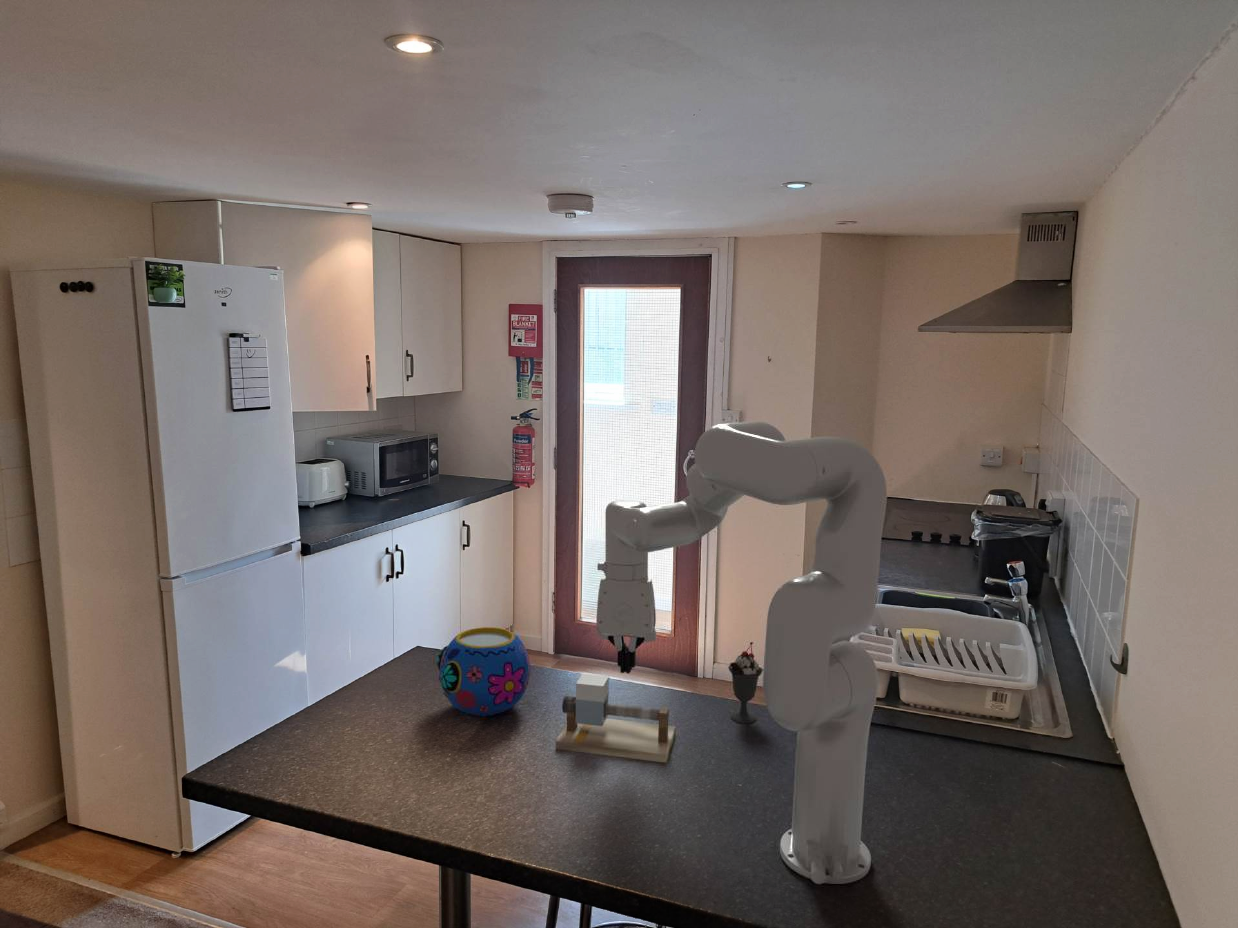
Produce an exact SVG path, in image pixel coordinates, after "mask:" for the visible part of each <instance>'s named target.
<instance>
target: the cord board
mask: <svg viewBox="0 0 1238 928" xmlns="http://www.w3.org/2000/svg"><path fill="white" fill-rule="evenodd" d="M561 705H562V706H561V709H562V713H563V714H566V724H565V725H564V727H563V728H562V730H561V732H560V734H559V735H558V736H557V739H556V740H555V749H556V750H562V751H570V752H578V753H579V752H580V753H586V754H593V755H604V756H610V757H618V758H625V759H626V758H627V759H634V760H642V761H648V762H649V761H651V762H658V763H666V764H667V762H668V759H669V755H670V751H671V749H672V746H673V743H674V740H675V739H674V738H675V736H676V725H669V710H670V709H669V707H666V706H665V707H664V706H660V708H654V707H653V708H652V707H645V706H644V707H643V706H635V705H627V704H626V705H625V704H618V703H617V704H615V703H609V702H608V703H604V714H605V715H608V716H614V717H622V718H623V717H624V718H630V719H631V718H633V719H638V720H639V719H640V720H649V721H658V724H657V723H648V722H641V721H640V722H639V721H631V720H622V719H615V718H608V717H607V718H606V720H605V722H604V724H603V726H595V725H587V724H578V723H576V696H572V695H571V696H569V695H565V696H564V697H563V700H562V704H561Z"/></svg>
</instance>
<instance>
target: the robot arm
mask: <svg viewBox="0 0 1238 928" xmlns="http://www.w3.org/2000/svg"><path fill="white" fill-rule="evenodd" d="M685 483H686V488H687V490H688V493H689V495H688V496H686V497H685V498H684V499H682V500H680V501H678V502H670V503H664V504H659V505H653V506H647V504H646V503H644V502H642V501H639V500H632V499H623V500H615V501H612V502H609V503H608V504H607V506H606V507H605V521H604V522H605V524H604V525H605V529H604V530H605V533H604V534H605V553H604V554H605V561H602V562H598V563H597V570H598V571H601V572H603V573H604V575H603V576H602V577H601V578H600V581H599V582H600V583H599V588H598V595H597V603H596V604H597V606H596V622H595V623H596V624H595V625H596V630H597V631H596V636H597V637H598V638H600V639H604V640H608V641H609V642H610V644H612V646H614V647H615V648H614V649H615V651H617V667H620V673H621V674H624V673H626V674H631V672H632V670H633V668H635V667H636V663H637V662H636V657H637V656H636V650H637V649H638V648H639V647H640V646H641V645H643V644H644V643H649V642H654V641H656V639H657V632H656V628H655V627H656V624H657V623H656V621H657V620H656V619H657V618H656V617H657V616H656V615H657V613H656V603H655V602H656V600H655V591H654V585H653V580H652V577H651V576H649V575H648V574H649V573H648V572H649V553H652V552H653V553H654V552H658V551H663V550H666V549H667V550H668V549H672V548H676V547H681V546H683V547H684V546H687V545H690V544H692V543H694V542H697V541H698V540H700V539H701V538H703V537H704V536H705V535H708V534H709V533H710V532H711V531H713V530H714V529H715V528H716V527H718V526H719V525H720V524H722V522H723V521H724V519H725V516H726V515H727V512H728V509H729V507H730V506H731V505H733V504H735V503H736V502H737V501H738V500H740V499H741V498H742V497H743V496H747V497H750V498H753V499H756V500H759V501H762V502H766V503H770V504H773V505H777V506H793V505H794V506H795V505H800V504H804V503H810V502H817V501H821V500H826V502H827V505H826V508H825V512H824V513H823V515H822V517H821V520H820V522H819V524H818V528H817V530H816V535H815V542H814V544H815V545H814V555H813V563H812V568H811V570H810V572H809V573H808V574H805V575H801V576H799V577H795V578H792V579H790V580H788V581H786V582H785V583H783V584H782V585H781V586H780V587H779V588H778V589H777V590H776V591H775V593H774V594H773V596H772V598H771V602H770V603H769V607H768V611H767V618H766V629H765V640H764V642H765V643H764V657H763V667H762V669H763V672H762V692H763V693H762V694H763V699H764V703H765V706H766V709H767V710H768V712H769V714H770V716H771V718H773V720H774V721H775V722H776V723H777V724H778V725H779V726H781V727H782V728H784V729H785V730H788V731H793V732H797V736H796V737H797V738H796V749H795V763H794V785H793V802H792V820H791V821H792V822H791V829H788V830H786V832H784V833H783V835H782V836H781V838H780V841H779V854H780V857H781V859H782V860H783V862H784V863H785V864H786V865H787V866H788V867H789V868H790V869H791V870H792V871H794V872H796V873H797V874H799V875H800V876H803V877H804V878H807V879H810V880H811V881H812V882H813V883H815V884H816V885H817V884H818V885H821V884H831V885H832V884H833V885H845V884H850V883H854V882H857V881H858V880H861V879H863V878H864V877H865V876H866V875H868V873H869V872H870V869H871V865H872V855H871V852H870V850H869V849H868V847H867V846H866V844H865V843H864V842H863V841H862V839H861V837H862V822H863V811H864V809H863V808H864V794H865V779H866V766H867V756H868V755H867V754H868V746H869V745H868V742H869V735H870V727H871V721H872V717H873V713H874V711H875V710H874V709H875V707H876V706H875V705H876V701H877V696H878V692H879V673H878V669H877V665H876V663H875V661H874V659H873V657H872V656H871V654H870V653H869V652H868V650H866V649H865V648H864V647H862V646H861V645H860V644H857V643H856V642H853V641H849V640H848V639H850V638H851V639H852V638H853V637H855V636H858V635H860V634H862V633H863V632H865V631H866V630H867V629H868V628H869V627H870V626H871V624H872V622H873V621H874V617H875V614H876V613H875V612H876V608H877V607H876V605H877V597H878V596H877V595H878V583H879V573H880V563H881V547H882V546H881V545H882V537H883V536H882V535H883V529H884V523H885V516H886V509H887V499H888V496H887V495H888V493H887V490H888V489H887V483H886V478H885V474H884V471H883V470H882V467H881V465H880V463H879V462H878V460H877V459H876V457H875V456H874V455H873V454H872V453H871V452H870V451H869V449H867V448H866V447H865V446H863V445H862V444H860V443H858V442H857V441H854V440H853V439H849V438H845V437H838V436H820V437H819V436H817V437H809V438H801V439H790V440H786V438H785V436H784V434H783V433H782V432H781V431H780V430H779V429H778V428H777V427H775V426H774V425H771V424H770V423H766V422H762V421H746V422H729V423H728V422H727V423H719V424H716V425H713V426H711V427H710V428H708V429H706V430H705V431H704V432H703V433H702V435H700V437H699V438H698V441H697V442H696V445H695V448H694V464H692V465H691V466H690V468H689V469H688V471H687V473H686V478H685ZM625 637H627V638H628V637H629V641H628V645H627V644H626V642H625Z"/></svg>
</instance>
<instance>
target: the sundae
mask: <svg viewBox="0 0 1238 928" xmlns="http://www.w3.org/2000/svg"><path fill="white" fill-rule="evenodd" d="M753 644H754V641H751V642H749V647H748V648H747V649H746V650H743V651H742V652H741V654H740V655H738V656H737V657H736V658H735V661H734V662H730V663H729V666H727V668H728V671H729V672H730V674H731V677H732V688H733V693H734V696H735V698H736V699H737V700H739V702H740V709H739V711H735V712H733V713H732V714H731V715H730V719H731V720H732V721H733V722H735V723H738V724H741V725H742V724H743V725H744V724H745V725H747V724H753V723H755V721H756V720H757V717H756V715H754V714H753V713H751V712H748V710H747V709H748V708H747V706H748V705H747V704H748V702H750V701H752V700H753V698H754V697H755V695H756V691H757V688H758V687H757V685H758V682H759V681H758V680H759V677H760V676H761V675H763V667H760V666H759V663H758V661H757V660H756V659H755V655H754V653H753V646H752V645H753ZM749 649H750V651H751V653H749V652H748V651H749Z"/></svg>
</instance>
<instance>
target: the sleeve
mask: <svg viewBox="0 0 1238 928" xmlns="http://www.w3.org/2000/svg"><path fill="white" fill-rule="evenodd" d="M609 678H610V676H609V675H599V674H591V673H582V674H581V676H579V679H578V680H577V681H576V683H575V697H576V723H578V724H587V725H595V726H603V724H604V722H605V720H606V718H607V719H608V716H609V715H605V714H604V703H609V686H610V685H609V683H610V681H609V680H610V679H609Z"/></svg>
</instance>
